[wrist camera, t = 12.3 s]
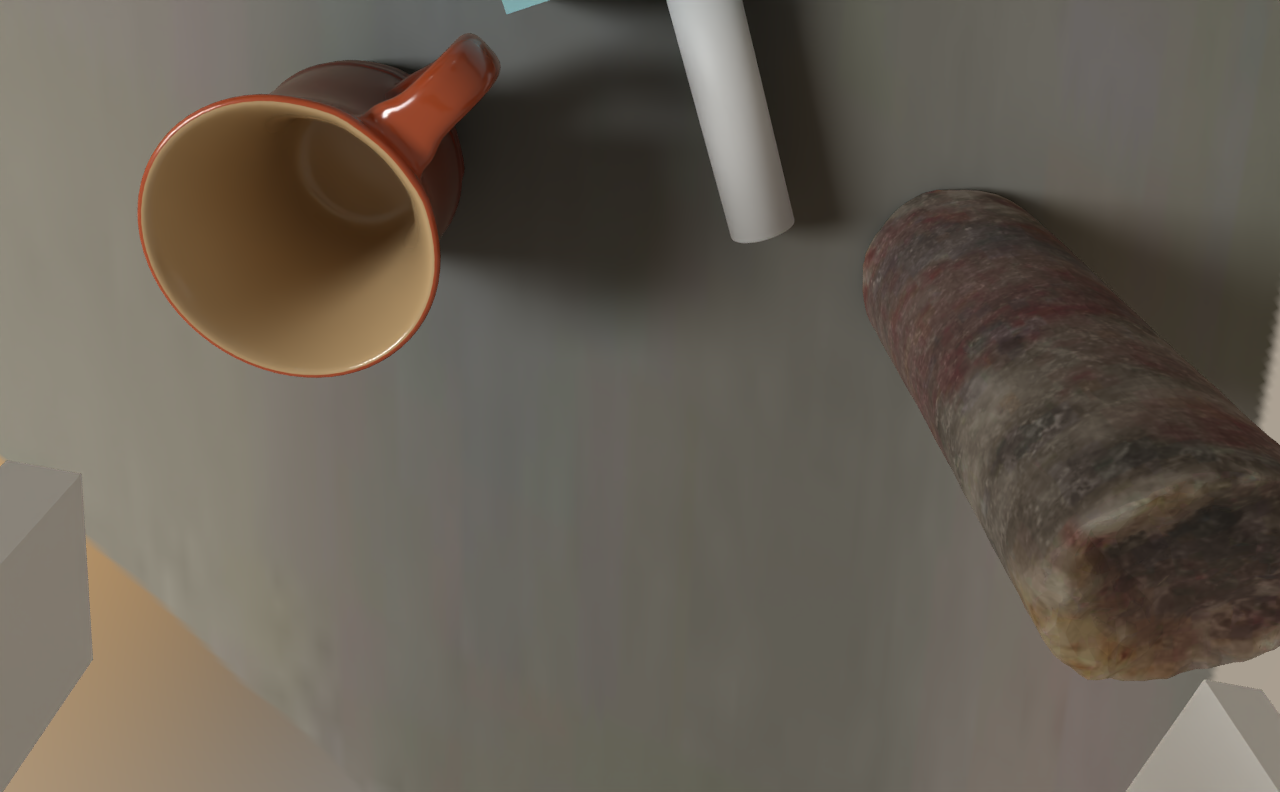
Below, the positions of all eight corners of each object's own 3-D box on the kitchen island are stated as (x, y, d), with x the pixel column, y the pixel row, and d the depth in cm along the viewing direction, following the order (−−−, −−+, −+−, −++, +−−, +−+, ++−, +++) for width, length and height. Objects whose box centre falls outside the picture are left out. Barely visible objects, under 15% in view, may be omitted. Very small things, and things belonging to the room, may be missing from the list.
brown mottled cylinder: (1076, 200, 39) (1431, 499, 21) (1009, 364, 42) (1265, 734, 25) (889, 166, 38) (1095, 446, 21) (836, 335, 42) (975, 695, 24)
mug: (382, 298, 41) (309, 427, 32) (210, 139, 38) (75, 233, 29) (597, 106, 37) (582, 192, 28) (426, -90, 34) (347, -64, 25)
